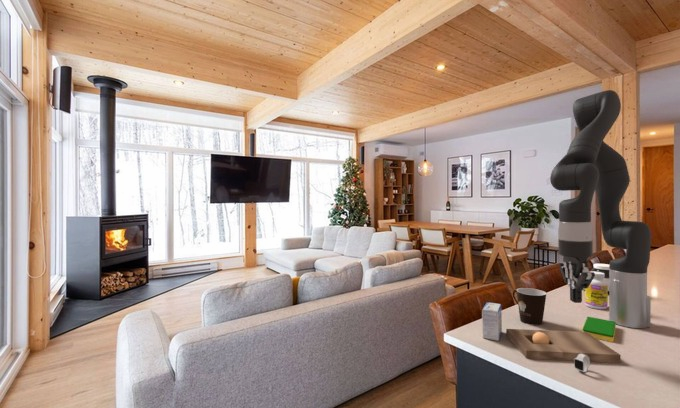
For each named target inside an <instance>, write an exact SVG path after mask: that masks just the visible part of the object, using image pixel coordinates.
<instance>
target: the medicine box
mask: <svg viewBox="0 0 680 408" xmlns="http://www.w3.org/2000/svg"><path fill="white" fill-rule="evenodd" d="M502 313H503V312H502V304H501V303H495V302H486V303H485V305H484V306H483V307H482V311H481V321H482V322H481V323H482V325H481V327H482V328H481V329H482V339H483V338H484V339H487V340H492V341H500V337H501V334H502V331H503V329H502V327H503V325H502V324H503V323H502V321H503V320H502V317H503V316H502Z"/></svg>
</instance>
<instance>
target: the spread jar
mask: <svg viewBox="0 0 680 408" xmlns="http://www.w3.org/2000/svg"><path fill="white" fill-rule="evenodd" d="M609 269H610V268H609V264H608V263H607V264H606V263H593V268H592V269H591V270H590V271H595V272H602V273H604V274H605V277H604V280H605V281H607V283H608V295H609ZM582 291H585V288H584V289H582Z"/></svg>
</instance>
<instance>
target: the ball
mask: <svg viewBox="0 0 680 408" xmlns="http://www.w3.org/2000/svg"><path fill="white" fill-rule="evenodd" d="M532 339H533V342H534V343H533V342H532V343H533V344H549V338H548V336H547V335H546V334H544V333H542V332H537V333H535V334H534V335H533V338H532Z"/></svg>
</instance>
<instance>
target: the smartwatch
mask: <svg viewBox="0 0 680 408" xmlns="http://www.w3.org/2000/svg"><path fill="white" fill-rule="evenodd" d="M573 361H574V365H573V366H574V368H575V369H576V370H577V371H579V372H582V373H586V372H588V370H589V367H590V366H591V361H590V358H589V357H588V356H587V355H584V354H579V355H578V356H577V357H576V358H575V359H574V360H573Z"/></svg>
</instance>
